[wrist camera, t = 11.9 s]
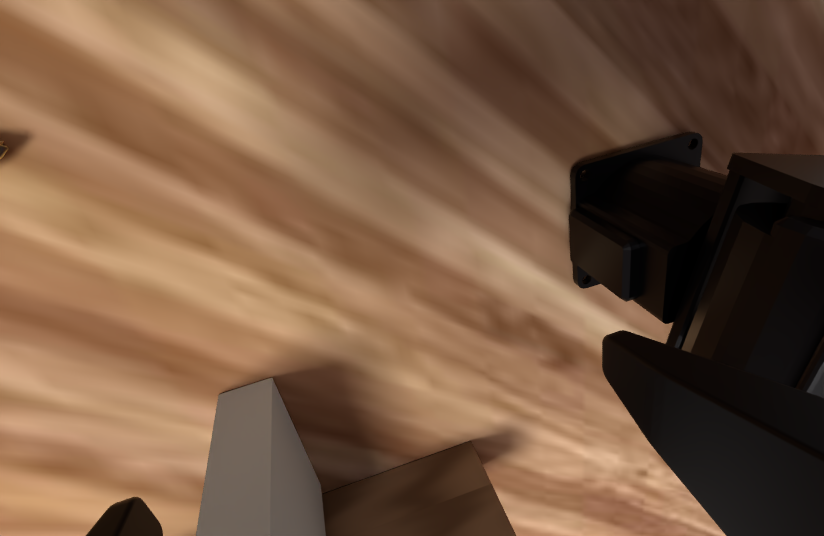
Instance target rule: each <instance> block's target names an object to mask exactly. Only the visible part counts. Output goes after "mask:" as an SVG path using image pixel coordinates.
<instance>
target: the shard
mask: <svg viewBox="0 0 824 536" xmlns="http://www.w3.org/2000/svg"><path fill="white" fill-rule="evenodd" d="M3 143H4V141H0V159H1V158H3V156H4V155H5V153H6V152H7V150H8V149H9V148H8V147H7V146H3Z"/></svg>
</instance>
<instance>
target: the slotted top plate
mask: <svg viewBox="0 0 824 536" xmlns="http://www.w3.org/2000/svg"><path fill="white" fill-rule="evenodd" d="M196 536H326V532H325V522H324V512H323V502H322V491H321V484H320V482H319V480H318V478H317V475H316V473H315V471H314V469H313V467H312V464H311V462H310V460H309V458H308V456H307V453H306V451H305V449H304V447H303V444H302V442H301V440H300V438H299V436H298V433H297V431H296V429H295V427H294V425H293V422H292V420H291V418H290V416H289V414H288V411H287V409H286V407H285V405H284V403H283V400H282V398H281V396H280V394H279V392H278V389H277V387H276V385H275V383H274V380H273V378H269V379H265V380H262V381H259V382H256V383H253V384H250V385H247V386H244V387H241V388H237V389H234V390H231V391H228V392H225V393H222V394H219V395H218V402H217V408H216V414H215V420H214V426H213V433H212V439H211V445H210V451H209V457H208V463H207V470H206V476H205V482H204V488H203V494H202V501H201V507H200V513H199V519H198V525H197V531H196Z"/></svg>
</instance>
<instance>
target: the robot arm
mask: <svg viewBox="0 0 824 536" xmlns="http://www.w3.org/2000/svg"><path fill="white" fill-rule="evenodd" d="M690 141H691V144H690V145H689V142H690ZM702 142H703V140H702V136H701V135H700V134H699V133H695V132H685V133H681V134H678V135H674V136H671V137H667V138H664V139H660V140H657V141H653V142H650V143H646V144H643V145H639V146H636V147H632V148H629V149H625V150H622V151H618V152H615V153H611V154H608V155H604V156H601V157H597V158H593V159H590V160H586V161H583V162H580V163H578V164H576V165H575V166H574V167H573V169H572V171H571V175H570V182H571V213H570V215H569V228H570V258H571V261H572V262H573V279H574V282H575V283H576V284H577V285H578V286H579V287H580V288H583V289H584V288H589V287H592V286H595V285H598V284H602V285H604V286H605V287H606V288H607V289H609V290H610V291H611V292H613V293H614V294H615V295H617V296H618V297H619V298H621V299H622V300H624V301H626V302H627V301H630V300H634V301H635V302H636V303H638V304H639V305H640V306H642V307H643V308H644V309H646V310H647V311H648V312H650V313H651V314H652V315H654V316H655V317H656V318H658V319H659V320H660V321H662V322H663V323H665V324H669V323H672V322H673V325H672V328H671V331H670V333H669V336H668V339H667V341H666V344H664V343H661V342H658V341H655V340H652V339H649V338H646V337H643V336H640V335H637V334H634V333H631V332H628V331H624V330H622V331H618V332H615V333H612V334H609V335H606V336H605V337H604V339H603V342H602V368H603V372H604V375H605V377H606V379H607V380H608V382H609V383H610V385H611V386H612V388H613V389H614V391H615V392H616V394H617V395H618V397H619V398H620V400H621V401H622V403H623V404H624V406H625V407H626V409H627V410H628V412H629V413H630V415H631V416H632V418H633V419H634V421H635V422H636V424H637V425H638V427H639V428H640V430H641V431H642V433H643V434H644V435H645V437H646V438H647V440H648V441H649V442H650V444H651V445H652V446H653V448H654V449H655V450H656V451H657V453H658V454H659V455H660V456H661V457H662V459H663V460H664V461H665V462H666V463H667V465H668V466H669V467H670V468H671V470H672V471H673V472H674V473H675V474H676V476H677V477H678V478H679V479H680V480H681V482H682V483H683V484H684V485H685V486H686V488H687V489H688V490H689V491H690V492H691V494H692V495H693V496H694V497H695V498H696V500H697V501H698V502H699V503H700V504H701V506H702V507H703V508H704V509H705V510H706V512H707V513H708V514H709V515H710V517H711V518H712V519H713V520H714V521H715V523H716V524H717V525H718V526H719V527H720V529H721V530H722V531H723V532H724V533H725V535H726V536H824V155H793V154H759V153H733V154H732V156H731V159H730V162H729V165H728V167H727V169H729V170H730V171H729V174H728V176H726V175H723V174H720V173H717V172H714V171H710V170H707V169H704V168H701V167H700V160H701V151H702ZM688 145H689V146H688ZM584 170H585V171H586V172H585V175H584V176H583V177H582V178H580V175H581V173H582V171H584ZM586 275H587V276H586ZM585 276H586V278H585V279H584V280H583V278H584V277H585ZM86 536H163V531H162V527H161V525H160V523H159V521H158V520H157V518H156V517H155V516H154V514H153V513H152V512H151V510H150V509H149V508H148V507H147V505H146V504H145V503H144V501H143V500H142V499H141V498H139V497H132V498H129V499H126V500H123V501H120V502H117V503H115V504H113V505H111V506H110V507H109V508H108V509H107V510H106V512H105V513H104V514H103V515H102V517H101V518H100V519H99V520H98V521H97V523H96V524H95V525H94V526H93V528H92V529H91V530H90V531H89V532H88V534H87V535H86Z"/></svg>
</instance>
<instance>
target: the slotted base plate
mask: <svg viewBox="0 0 824 536" xmlns="http://www.w3.org/2000/svg"><path fill="white" fill-rule="evenodd" d="M322 502H323V512H324V522H325V532H326V536H516V534H515V532H514V530H513V528H512V526H511V524H510V522H509V520H508V517H507V515H506V513H505V511H504V509H503V507H502V505H501V503H500V501H499V499H498V497H497V494H496V492H495V490H494V488H493V486H492V484H491V482H490V480H489V478H488V476H487V474H486V471H485V469H484V467H483V465H482V463H481V461H480V459H479V457H478V455H477V453H476V451H475V448H474V446H473V444H472V442H471V441H469V442H467V443H464V444H461V445H458V446H456V447H453V448H450V449H447V450H444V451H442V452H439V453H436V454H433V455H431V456H428V457H425V458H422V459H419V460H417V461H414V462H411V463H408V464H406V465H403V466H400V467H397V468H394V469H392V470H389V471H386V472H383V473H380V474H378V475H375V476H372V477H369V478H367V479H364V480H361V481H358V482H355V483H353V484H350V485H347V486H344V487H342V488H339V489H336V490H333V491H330V492H328V493H325V494H322Z"/></svg>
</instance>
